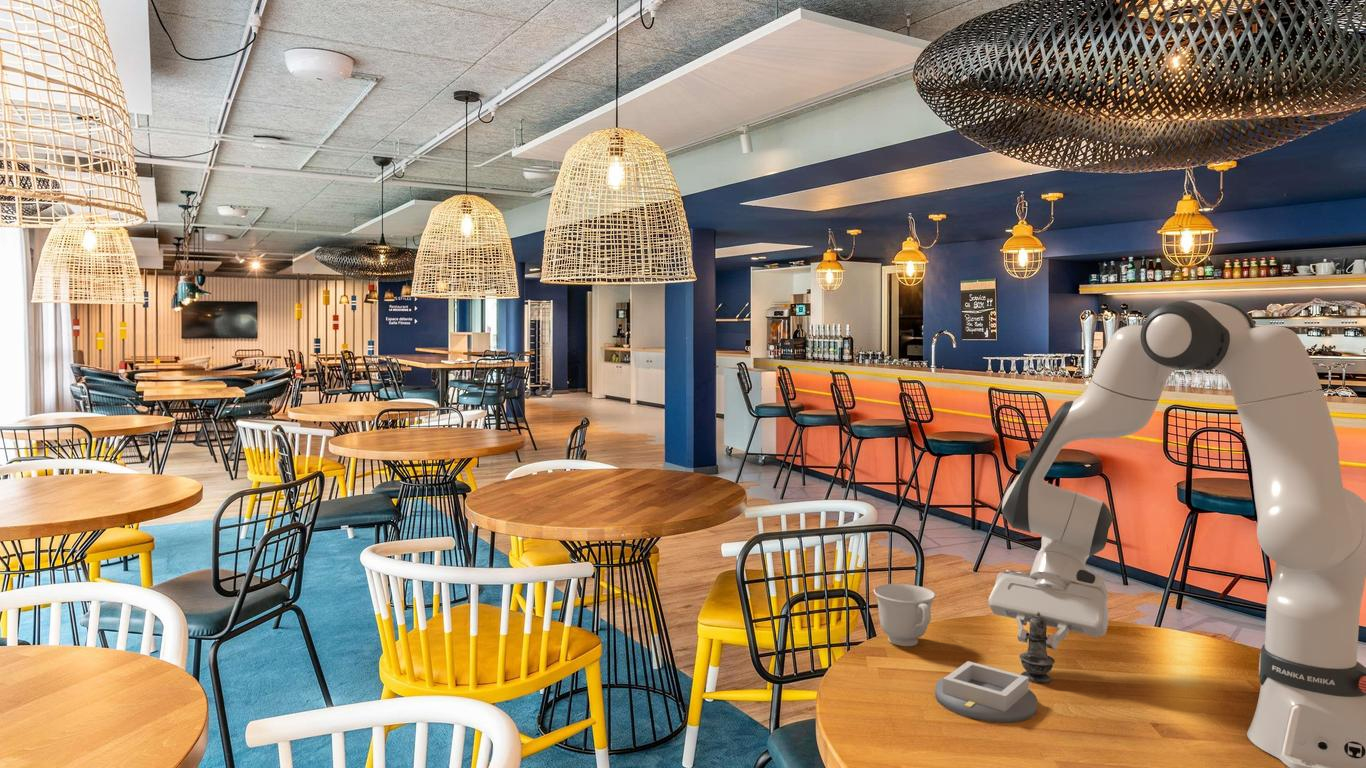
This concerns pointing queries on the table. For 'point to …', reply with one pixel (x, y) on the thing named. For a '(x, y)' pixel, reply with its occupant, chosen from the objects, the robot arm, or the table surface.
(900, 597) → the teacup
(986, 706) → the socket stand
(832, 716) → the table surface
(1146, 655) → the table surface
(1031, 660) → the dark grey tapered piece
